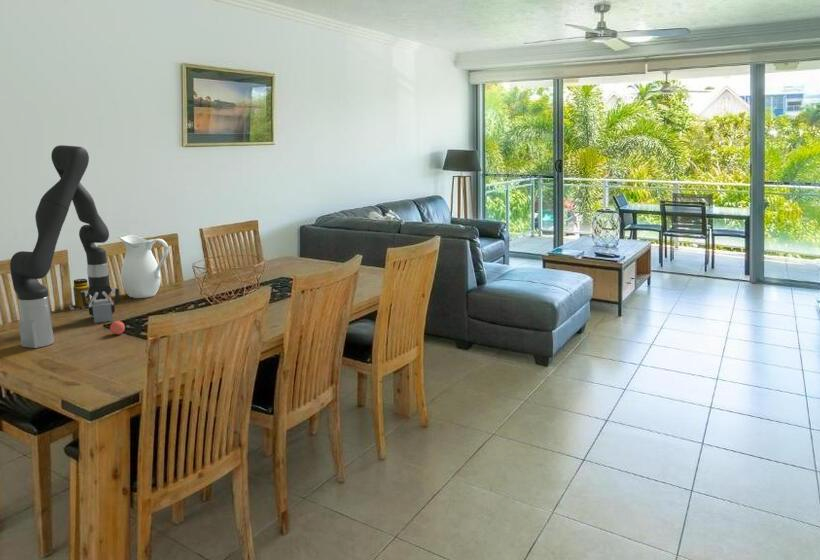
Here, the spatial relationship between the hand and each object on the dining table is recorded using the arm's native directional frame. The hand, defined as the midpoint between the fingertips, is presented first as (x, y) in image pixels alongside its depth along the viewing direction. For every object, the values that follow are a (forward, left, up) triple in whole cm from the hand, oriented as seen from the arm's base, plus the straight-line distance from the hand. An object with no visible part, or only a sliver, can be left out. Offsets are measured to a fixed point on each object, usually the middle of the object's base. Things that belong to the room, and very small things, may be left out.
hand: (102, 314), depth 253 cm
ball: (-15, -20, +1) cm, 25 cm away
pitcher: (+37, +8, -2) cm, 38 cm away
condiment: (+12, +23, -2) cm, 26 cm away
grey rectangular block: (0, 0, -2) cm, 2 cm away
